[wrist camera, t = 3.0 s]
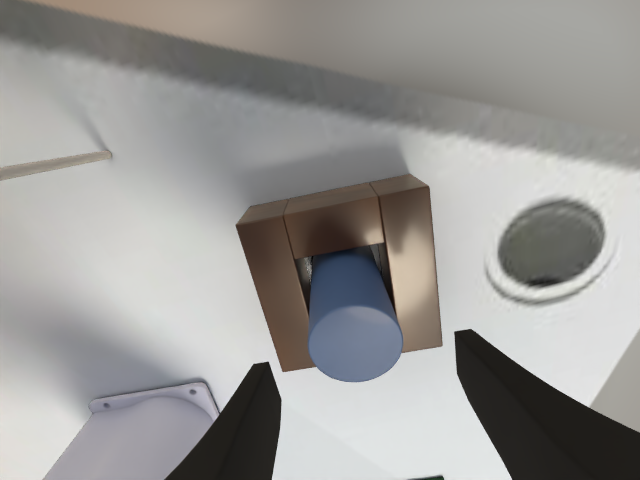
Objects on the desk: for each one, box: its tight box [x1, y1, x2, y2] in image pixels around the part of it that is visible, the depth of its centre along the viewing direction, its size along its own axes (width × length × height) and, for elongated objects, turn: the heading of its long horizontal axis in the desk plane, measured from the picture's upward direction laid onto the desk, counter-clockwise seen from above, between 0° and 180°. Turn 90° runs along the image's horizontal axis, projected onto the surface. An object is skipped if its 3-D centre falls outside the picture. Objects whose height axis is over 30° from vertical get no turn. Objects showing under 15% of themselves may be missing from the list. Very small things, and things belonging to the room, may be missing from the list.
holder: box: [236, 174, 443, 372], centre depth 19 cm, size 10×10×4 cm
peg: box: [308, 245, 403, 382], centre depth 17 cm, size 4×4×8 cm
